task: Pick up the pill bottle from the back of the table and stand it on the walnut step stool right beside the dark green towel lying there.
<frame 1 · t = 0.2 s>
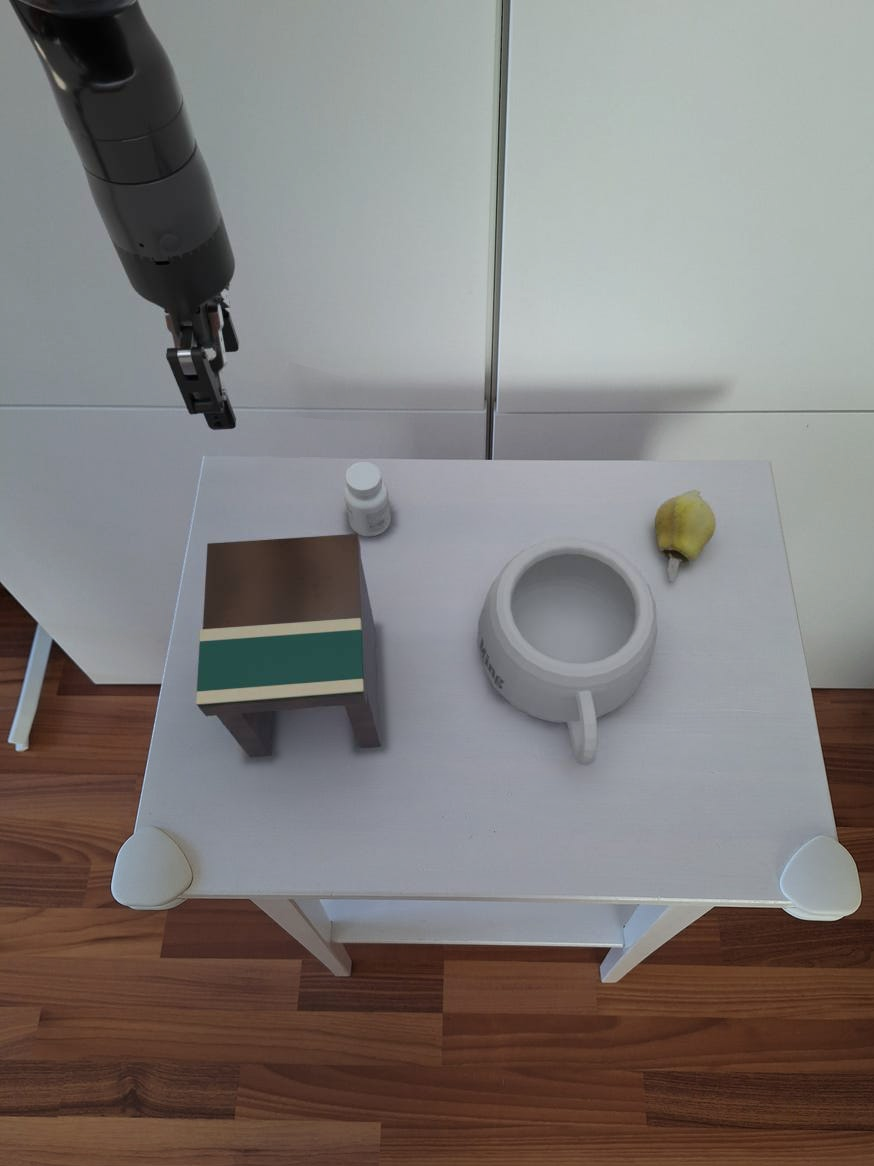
hand: (225, 386, 68), 18 cm above the table, tool pointing down, fingers open, 8 cm apart
towel: (282, 663, 59), resting on stool
pill bottle: (370, 521, 84), on the table
fruit: (677, 549, 84), on the table
mug: (563, 672, 77), on the table
stool: (315, 691, 75), on the table
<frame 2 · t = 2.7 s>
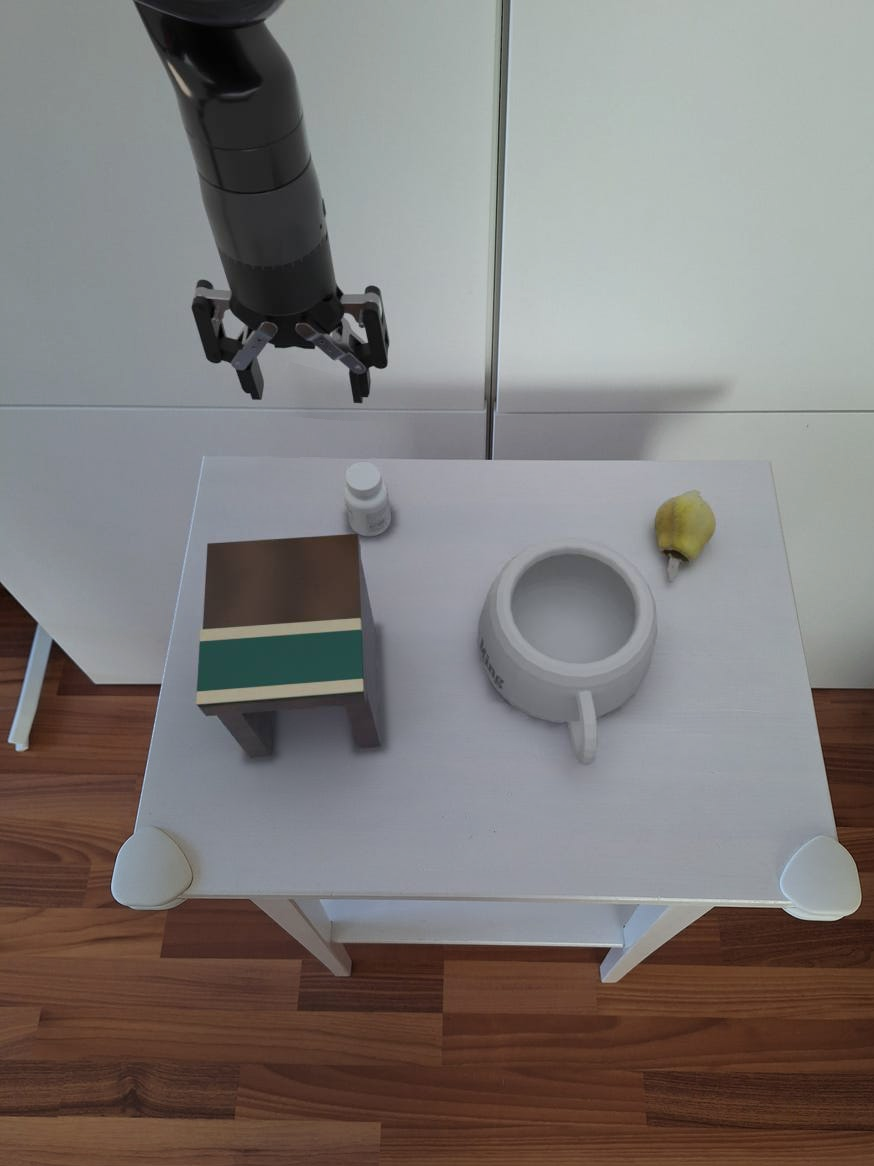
hand: (309, 394, 68), 18 cm above the table, tool pointing down, fingers open, 8 cm apart
nothing on the table moved.
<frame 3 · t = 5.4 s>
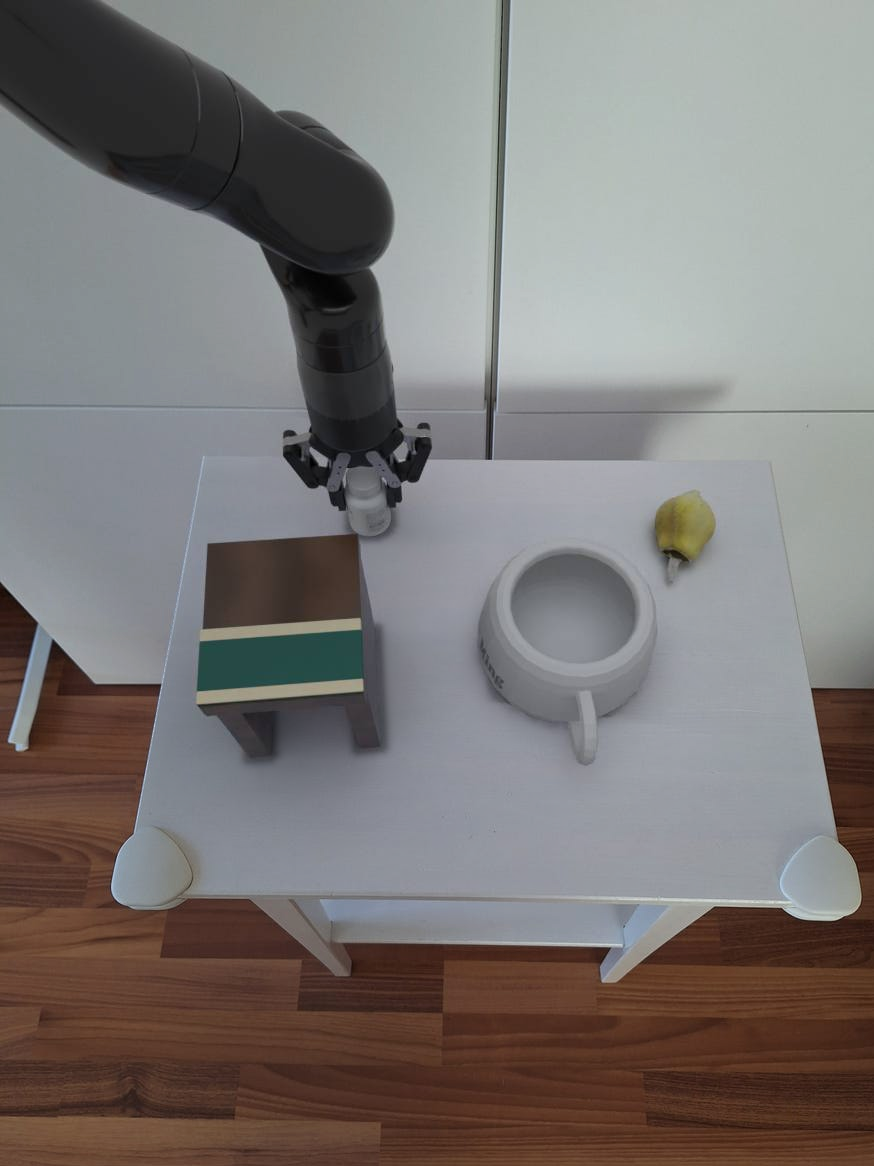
hand: (367, 501, 81), 3 cm above the table, tool pointing down, fingers closed on pill bottle, 4 cm apart
pill bottle: (370, 521, 84), on the table, touching gripper
everything else where it was.
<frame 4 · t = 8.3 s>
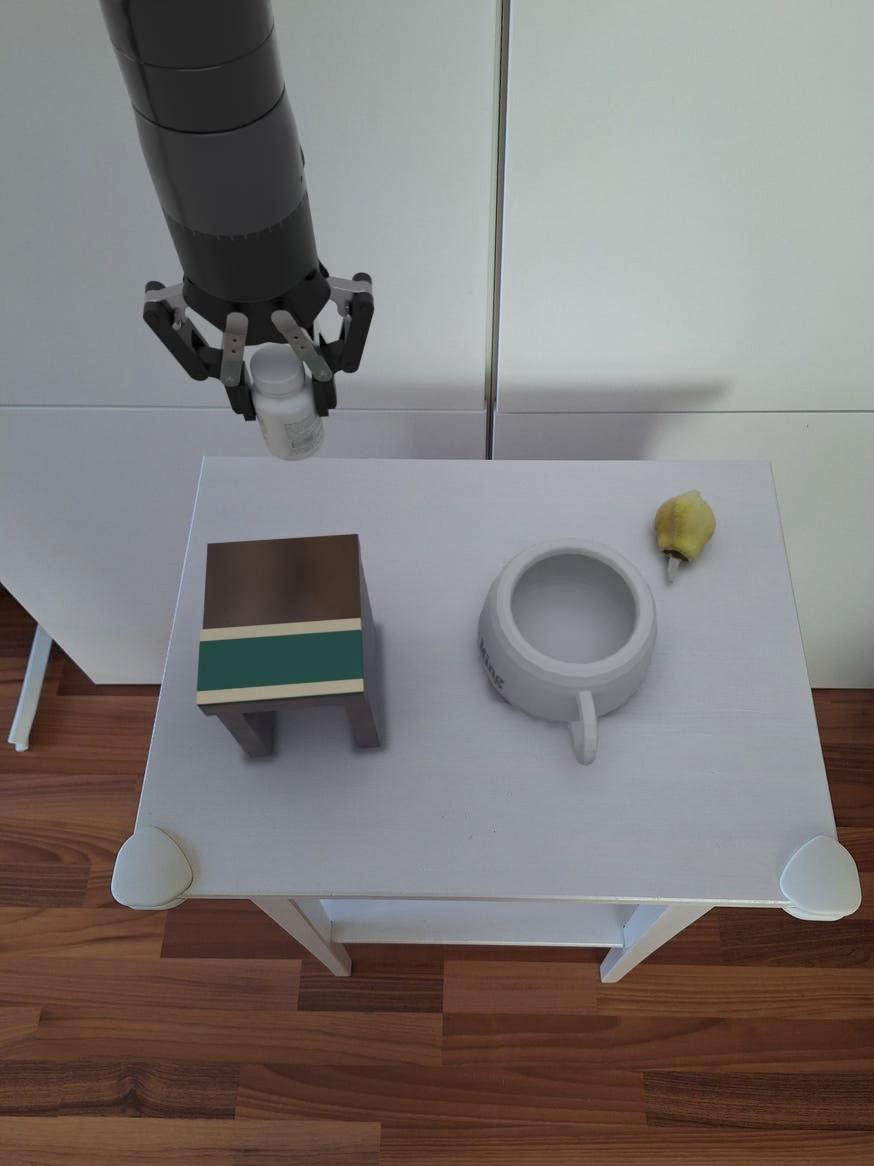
hand: (287, 408, 56), 27 cm above the table, tool pointing down, fingers closed on pill bottle, 4 cm apart
pill bottle: (295, 441, 59), point 23 cm above the table, touching gripper
everything else where it was.
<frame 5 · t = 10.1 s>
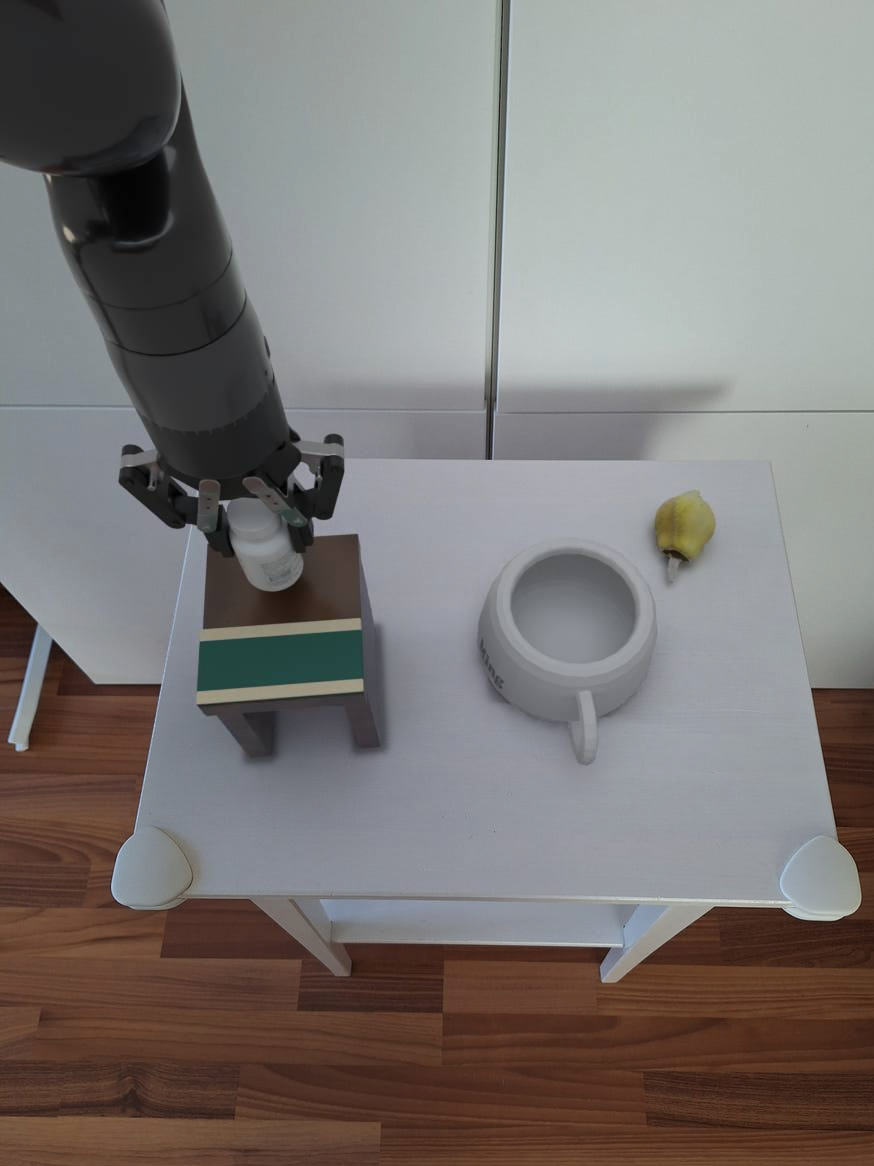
hand: (266, 544, 57), 22 cm above the table, tool pointing down, fingers closed on pill bottle, 4 cm apart
pill bottle: (275, 569, 60), point 18 cm above the table, touching gripper
everything else where it was.
when the fingers open (19 cm above the table, at t = 11.2 s): pill bottle stays where it is, resting on stool.
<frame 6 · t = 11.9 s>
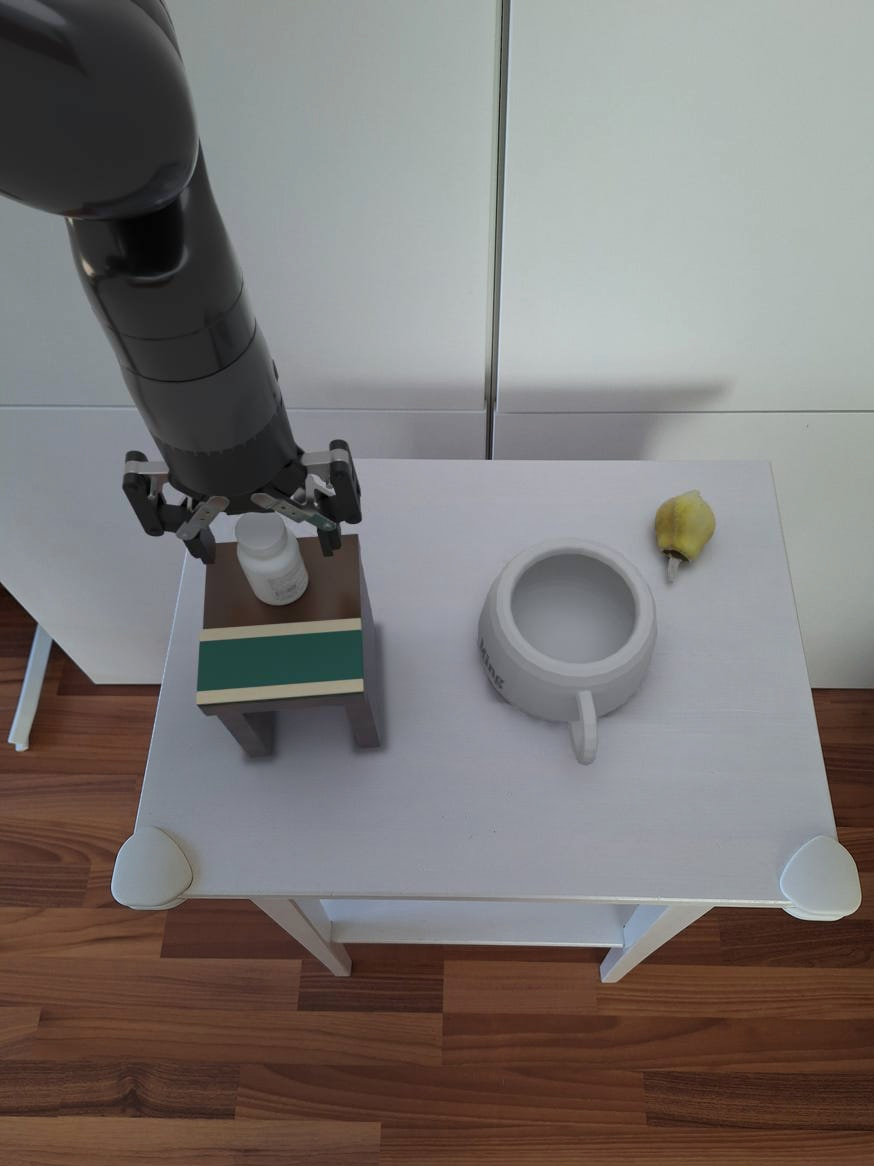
hand: (270, 550, 58), 21 cm above the table, tool pointing down, fingers open, 8 cm apart
pill bottle: (281, 583, 62), point 16 cm above the table, touching stool
everything else where it was.
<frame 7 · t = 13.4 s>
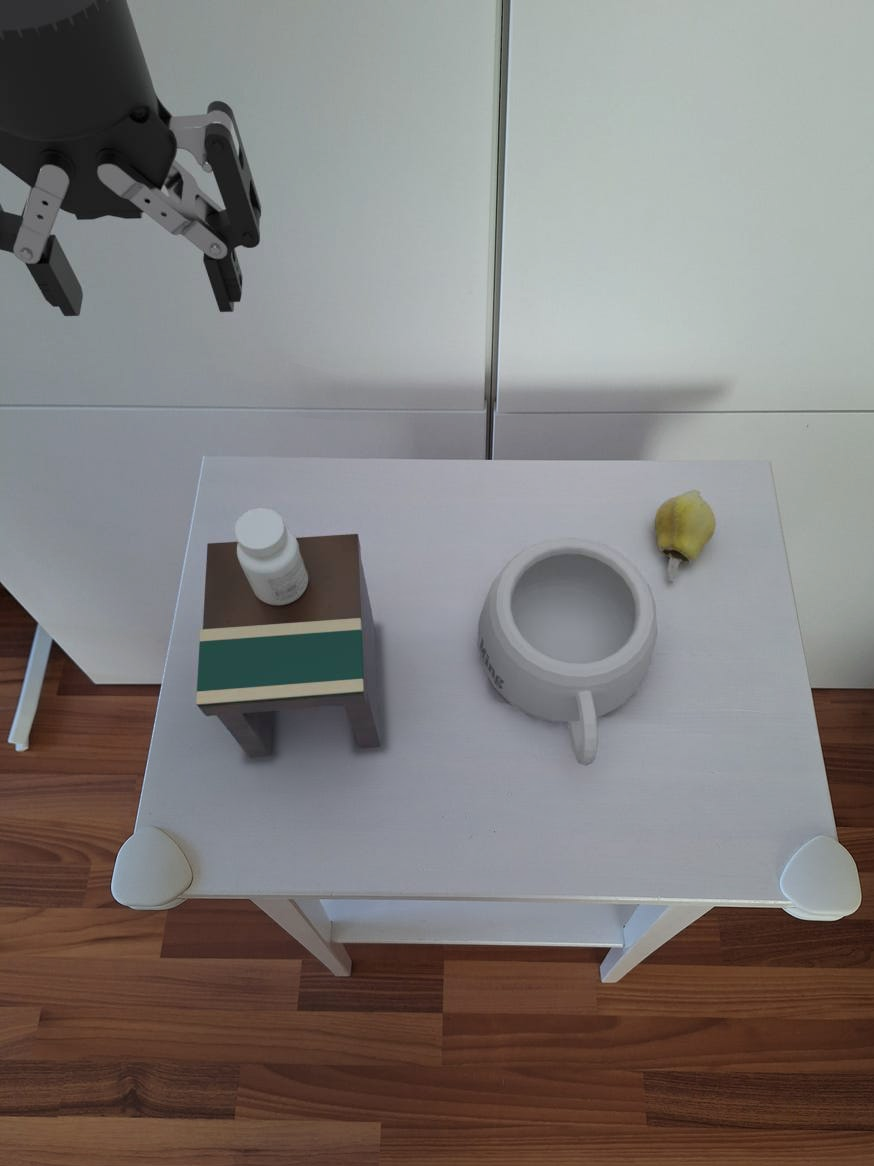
hand: (152, 303, 45), 37 cm above the table, tool pointing down, fingers open, 8 cm apart
nothing on the table moved.
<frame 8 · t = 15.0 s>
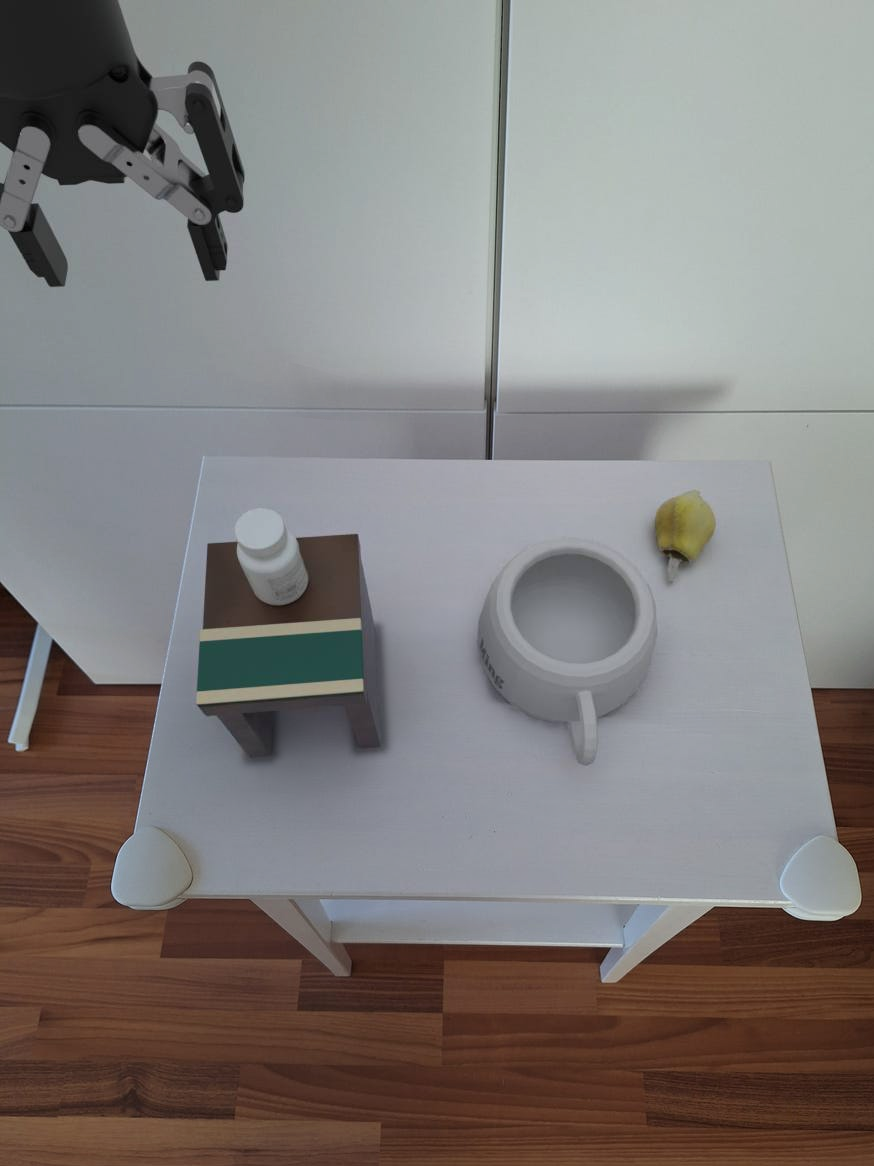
hand: (138, 273, 45), 38 cm above the table, tool pointing down, fingers open, 8 cm apart
nothing on the table moved.
at the end: pill bottle 0.4 cm from the target spot on the table beside the towel, resting on stool; pill bottle tilted 0°; pill bottle touching stool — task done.
